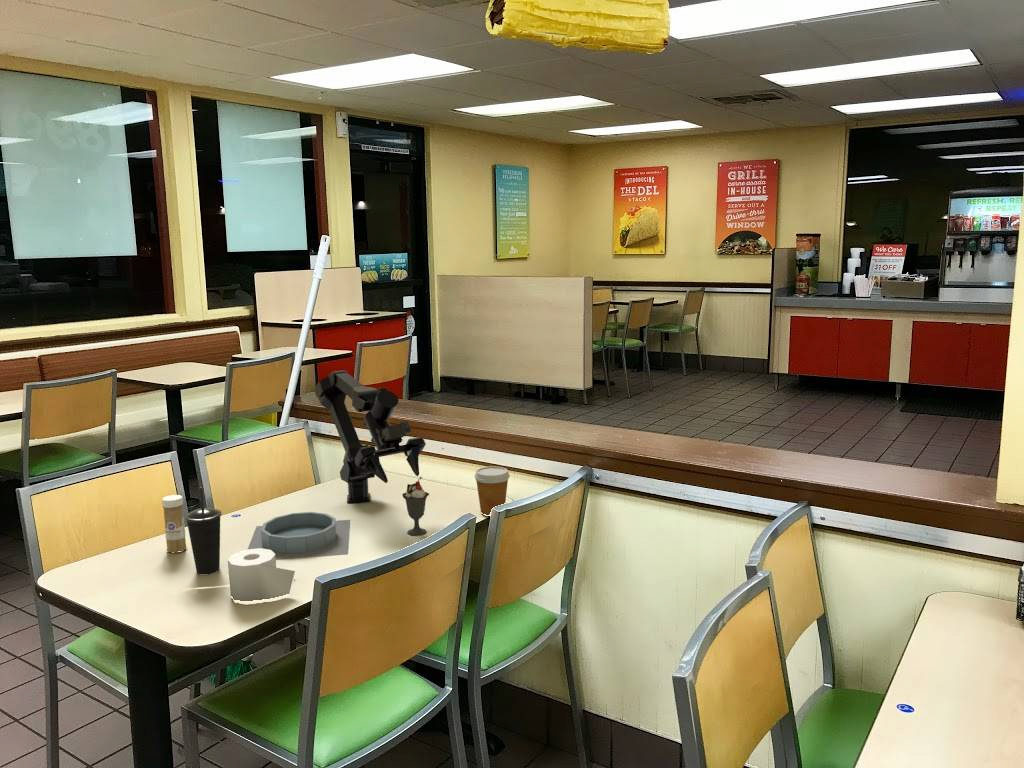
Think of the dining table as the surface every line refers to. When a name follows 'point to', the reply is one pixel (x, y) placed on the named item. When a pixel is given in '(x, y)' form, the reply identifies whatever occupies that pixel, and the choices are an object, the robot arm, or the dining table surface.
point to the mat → (332, 549)
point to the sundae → (415, 506)
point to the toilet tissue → (257, 575)
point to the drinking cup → (205, 537)
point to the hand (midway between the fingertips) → (402, 478)
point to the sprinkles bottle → (174, 523)
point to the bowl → (298, 532)
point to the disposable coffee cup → (491, 487)
